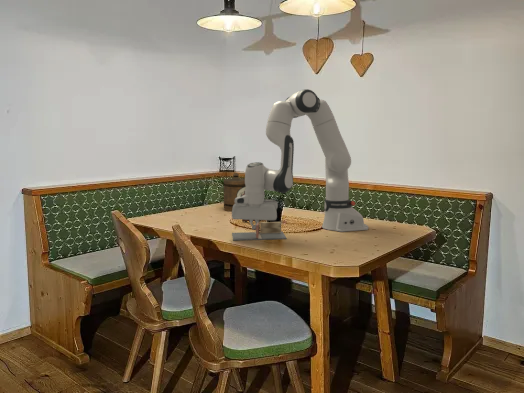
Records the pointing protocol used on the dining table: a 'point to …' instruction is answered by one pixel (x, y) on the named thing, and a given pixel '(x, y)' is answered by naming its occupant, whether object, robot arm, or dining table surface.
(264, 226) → the fixed fence panel
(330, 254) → the dining table surface
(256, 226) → the hinged fence panel
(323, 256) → the dining table surface
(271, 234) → the card
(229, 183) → the wooden container
